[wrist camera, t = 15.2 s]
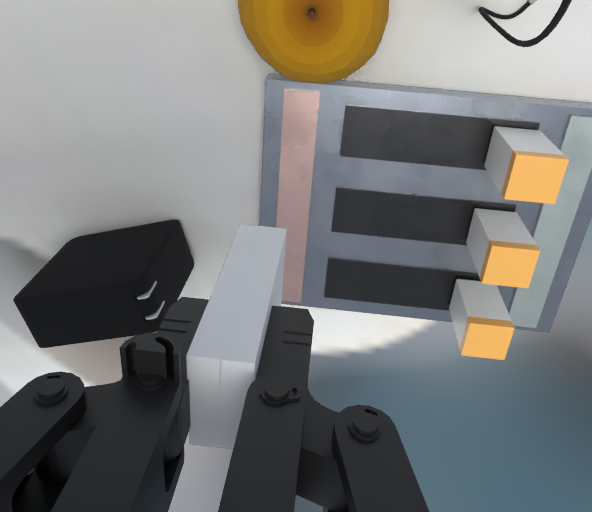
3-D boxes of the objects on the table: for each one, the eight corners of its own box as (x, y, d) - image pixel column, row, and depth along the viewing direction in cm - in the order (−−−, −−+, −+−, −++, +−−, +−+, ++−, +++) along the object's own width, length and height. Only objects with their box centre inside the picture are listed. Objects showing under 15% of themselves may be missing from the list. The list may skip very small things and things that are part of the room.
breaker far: (449, 308, 44) (461, 355, 39) (456, 278, 43) (470, 323, 38) (486, 312, 44) (504, 359, 39) (495, 283, 43) (514, 327, 38)
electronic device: (71, 236, 47) (7, 302, 38) (181, 217, 45) (140, 281, 37) (90, 278, 49) (33, 350, 40) (197, 261, 47) (162, 332, 38)
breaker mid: (466, 242, 42) (481, 283, 36) (474, 208, 40) (492, 245, 35) (506, 246, 41) (528, 288, 36) (516, 212, 40) (540, 250, 35)
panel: (259, 289, 48) (256, 302, 46) (269, 73, 39) (265, 80, 37) (542, 319, 47) (550, 334, 45) (618, 105, 38) (631, 113, 36)
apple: (235, 33, 38) (205, 56, 30) (283, -102, 34) (263, -116, 26) (348, 87, 39) (347, 122, 31) (408, -39, 35) (423, -34, 27)
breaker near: (484, 165, 39) (504, 199, 34) (494, 126, 37) (516, 154, 32) (528, 170, 38) (554, 204, 33) (539, 130, 37) (569, 159, 32)
